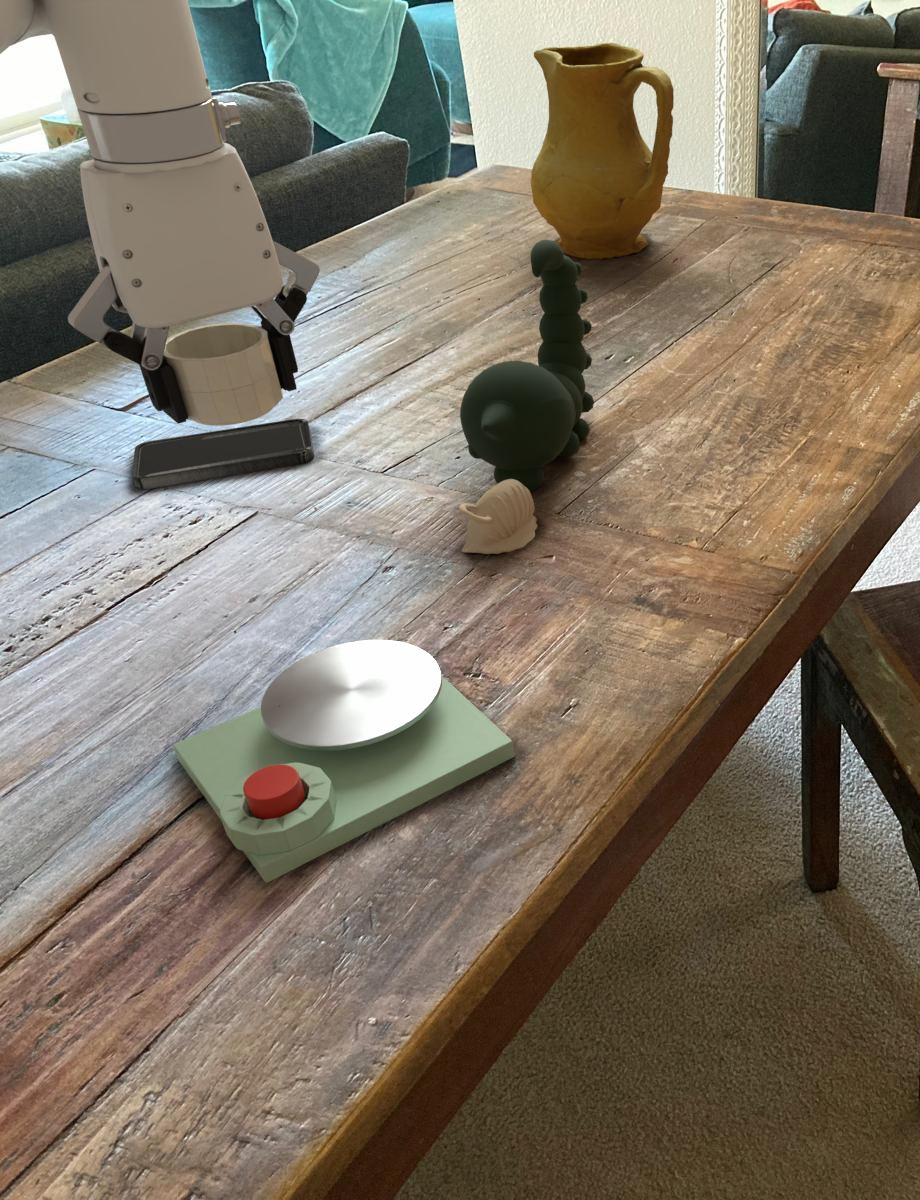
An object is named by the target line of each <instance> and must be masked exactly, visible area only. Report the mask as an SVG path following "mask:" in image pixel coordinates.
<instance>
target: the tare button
mask: <svg viewBox="0 0 920 1200" xmlns="http://www.w3.org/2000/svg"><path fill="white" fill-rule="evenodd" d="M243 792H244V795H245V798H246V801H247V804H248V806H249V809H250V812H251V813H252V814H253V815H254V816H255V817H257V818H260V819H273V818H280V817H282V816H284V815H286V814H289V813H291V812H293V811H295V810H296V809H298V808H299V807H300V805H301V804H302V803H303V801H304V797H305V792H304V789H303V786H302V783H301V779H300V776H299V773H298V771H297V770H296V769H295V768H293V767H291V766H288V765H272V766H268V767H265V768H262V769H260V770H258V771H256V772H255V773H253V774H252V775H251V776H250V777H249V778H248V779H247V780H246V781H245V783H244V786H243Z"/></svg>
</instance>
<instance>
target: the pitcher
mask: <svg viewBox="0 0 920 1200" xmlns="http://www.w3.org/2000/svg"><path fill="white" fill-rule="evenodd" d="M533 58H534V59H535V60H536V62H537V63H538V65H539V66H540V68H541V70H542V73H543V77H544V80H545V82H546V83H545V84H546V91H547V96H548V97H547V99H548V123H547V127H546V128H547V129H546V133H545V136H544V139H543V141H542V145H541V148H540V150H539V153H538V155H537V156H536V159H535V161H534V163H533V166H532V169H531V176H530V187H531V188H530V189H531V192H532V203H533V204H534V206H535V207H536V210H537V211H538V213H539V215H540V216H541V217H542V218H543V219H544V220H545V222H546V223H547V224H548V225H549V226H552V227H553V229H555V231H556V233H557V234H558V236H559V237H560V239H559V240H558V241H556V243H557V244H558V245H559V246H560V247H561V248H562V250H563V254H564V255H566V256H567V255H568V256H569V257H570V256H571V257H573V258H574V257H575V258H579V259H587V260H593V259H594V260H596V259H597V260H602V259H614V257H615V258H619V257H622V256H624V257H625V256H628V255H632V254H634V253H635V254H636V253H640V252H641V251H642V250H643V249H645V248H647V247H648V246H649V244H648V240H647V239H646V238H645V236H642V235H641V232H642V230H643V229H644V228H645V227H646V226H647V224H649V222H650V221H651V220H652V217H653V215H654V214H655V213H656V212H657V211H659V209H661V206H662V197H663V191H664V184H665V182H666V179H667V176H668V174H669V158H670V153H671V147H670V145H671V139H672V137H673V127H674V125H673V124H674V116H673V115H672V111H673V110H674V103H675V102H674V98H675V97H674V87H673V83H672V80H671V77H670V75H668V73H667V72H666V71H664V70H663V69H661V68H659V67H658V66H647V65H646V66H645V65H643V63H642V62H643V61H644V53H643V52H642V50H640V49H638V48H634V47H629V46H626V45H622V44H619V43H614V42H603V43H602V42H601V43H596V44H594V45H583V46H582V45H581V46H580V45H578V46H562V47H560V46H559V47H558V46H552V47H544V48H542V49H538V50H535V51H533ZM642 83H644V84H647V85H649V86H651V88H652V89H653V90H654V92H655V97H656V98H655V102H656V108H657V117H656V128H655V133H654V142H653V147H652V151H651V149H650V147H649V146H648V144H647V143H646V142H645V140H644V139H643V137H642V135H641V132H640V128H639V125H638V122H637V117H636V114H635V108H634V102H635V101H634V100H635V94H636V93H637V91H638V89H639V87H640V86H641V84H642Z"/></svg>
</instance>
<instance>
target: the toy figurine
mask: <svg viewBox="0 0 920 1200" xmlns="http://www.w3.org/2000/svg"><path fill="white" fill-rule="evenodd" d="M530 265H531V272H532V275H533V276H534V277H535V278H540V279H541V282H542V283H543V285H542V287H541V289H540V291H539V299H538V301H539V304H540V308H541V310H542V312H543V315H542V316H541V318H540V320H539V326H538V327H539V328H538V330H539V334H540V338H541V340H542V342H541V343H540V346H539V347H538V351H537V364H535V363H533V362H529V361H522V360H506V361H505V360H504V361H502V362H498V363H494V364H492V365H490V366H488V367H487V368H485V369H483V370H482V371H481V372H479V373H478V374H477V375H476V376H475V377H474V378H473V379H472V381H471V382H470V383H469V384H468V386H467V388H466V390H465V392H464V394H463V397H462V400H461V404H460V408H459V409H460V410H459V418H460V425H461V429H462V432H463V435H464V437H465V440H466V442H467V444H468V449H467V450H468V453H469V455H470V456H471V457H472V458H474V459H478V460H482V461H484V462H485V463H488V464H490V465H492V466H493V467H495V468H494V471H493V477H494V481H495V483H496V484H498V483H500V482H502V481H504V480H508V479H514V480H517V481H519V482H520V483H522V484H523V485H524V486H525V487H526V488H528V490H529V491H530V492H532V491H536V490H537V489H538V488H539V487H541V485H542V484H543V481H544V475H545V474H544V469H543V468H542V467H543V466H545V465H547V464H549V463H551V462H552V461H554V460H555V459H556V458H557V457H558V456H560V458H571V457H574V455H576V454H578V451H579V449H580V447H581V442H580V441H582V440H584V439H586V438H587V437H588V436H589V433H590V426H589V424H588V422H587V421H586V419H584V418H581V417H582V414H583V413H589V412H590V411H591V410H593V408H594V404H595V399H594V397H593V396H592V394H590V393H589V392H587V391H586V382H585V378H584V375H583V373H584V371H585V370H588V369H589V368H590V367H591V366H592V361H593V358H592V356H591V354H590V353H589V352H587V351H586V349H585V346H584V344H583V343H582V341H583V339H584V337H585V335H588V334H589V333H591V332H592V328H593V327H592V323H591V321H590V320H588V319H585V318H584V319H583V318H582V316H581V315H580V314H579V311H580V310H581V306H582V305H583V304H585V303H587V300H588V299H589V296H588V292H587V291H586V290H585V289H584V288H582V287H578V285H577V284H576V283H577V282H578V277H579V276H580V275H581V274H582V272H583V266H582V265H581V263H580V262H578V261H573V260H572V259H571V258H570V256H567V255H566V254H565V253H563V250H562V248H561V247H560V246H559V245H558V244H557V241H554V240H550V239H542V240H540V241H538V242H536V243H535V244H534V245H533V246H532V248H531V252H530Z"/></svg>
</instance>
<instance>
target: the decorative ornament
mask: <svg viewBox="0 0 920 1200" xmlns="http://www.w3.org/2000/svg"><path fill="white" fill-rule="evenodd" d="M458 511H459V513H460V514H461V515H462V516H464V517H465V518H467V519H468V522H467V526H466V535H465V536H466V537H465V543H464V545H463V548H462V550H461V553H463V554H464V553H465V554H466V553H467V554H468V553H470V554H471V553H473V554H478V553H479V554H483V555H490V554H493V555H494V554H495V555H499V554H503V553H511V552H514V551H516V550H519V549H522V548H524V547H526V546H527V544H529V543H531V541H533V540H534V539H535V537H536V530H537V529H538V524H537V520H538V518H537V517H536V516H535V515H534V512H535V503H534V499H533V496H532V493H531V491H529V490H528V488H526V487H525V486H524V485H523V484H522V483H520V482H519V481H517V480H514V479H508V480H504V481H502V482H500V483H498V484H497V483H496V484H495V485H493V486H492V487H491V488H489V489H488V490H487V491H485V492H484V493H483V494H482V496H481V497H480V498H479V499H478V501H476V503H475V504H474V503H468V502H464V503H461V504H460V505H459V506H458Z"/></svg>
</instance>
